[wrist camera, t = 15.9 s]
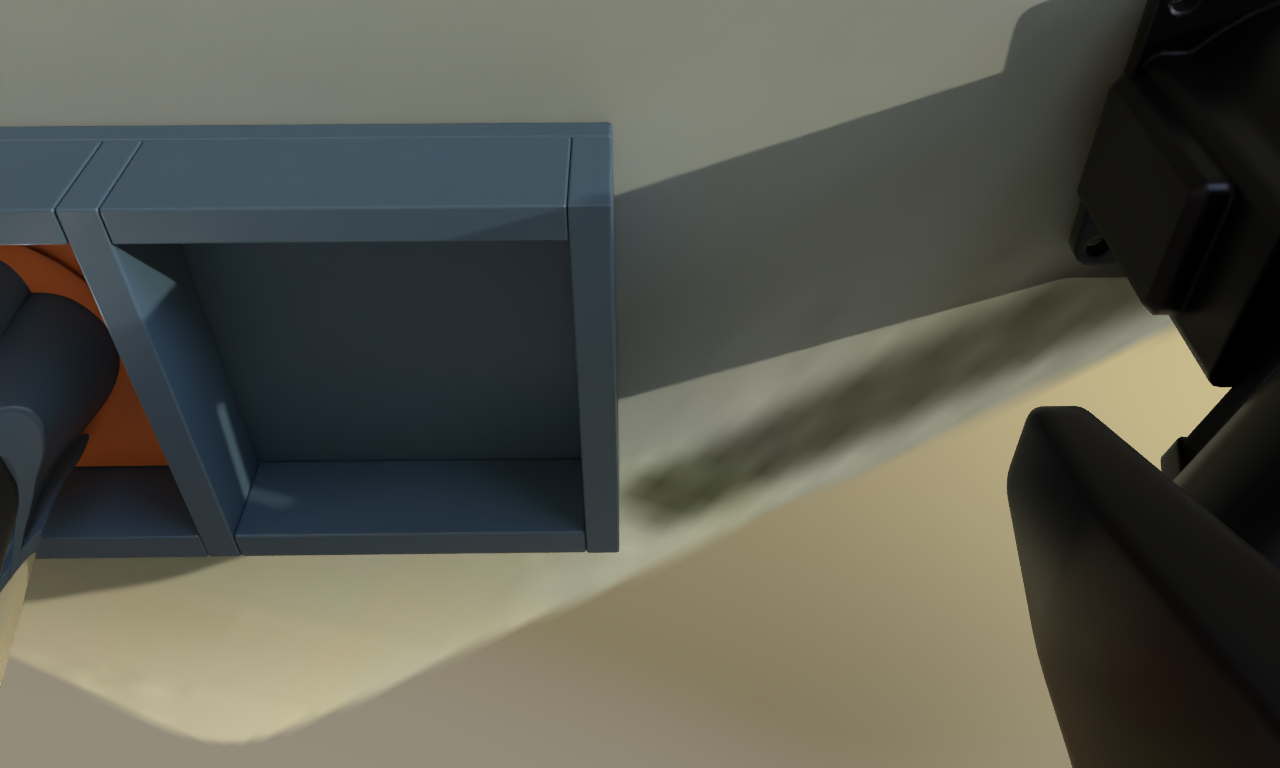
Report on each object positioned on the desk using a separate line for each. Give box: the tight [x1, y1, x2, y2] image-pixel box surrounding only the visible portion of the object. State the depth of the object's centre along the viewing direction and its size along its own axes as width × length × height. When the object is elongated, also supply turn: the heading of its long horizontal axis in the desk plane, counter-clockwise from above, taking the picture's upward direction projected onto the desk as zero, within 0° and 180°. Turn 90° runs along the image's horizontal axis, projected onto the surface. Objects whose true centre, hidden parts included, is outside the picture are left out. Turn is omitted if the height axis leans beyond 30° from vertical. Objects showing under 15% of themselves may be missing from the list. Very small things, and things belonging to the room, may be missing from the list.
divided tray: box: [0, 122, 619, 559], centre depth 24 cm, size 19×10×3 cm, turn 90°
